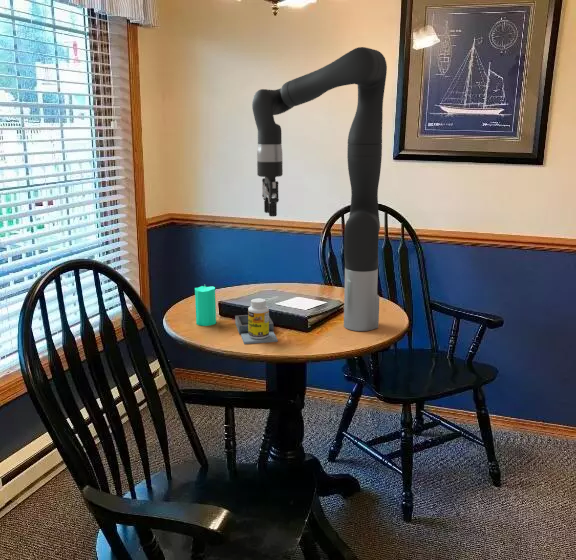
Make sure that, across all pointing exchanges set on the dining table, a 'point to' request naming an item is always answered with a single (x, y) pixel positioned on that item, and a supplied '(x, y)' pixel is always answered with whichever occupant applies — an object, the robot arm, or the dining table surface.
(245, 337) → the slate mat
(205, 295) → the candle
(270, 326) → the iron collar
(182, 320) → the dining table surface
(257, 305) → the supplement bottle
